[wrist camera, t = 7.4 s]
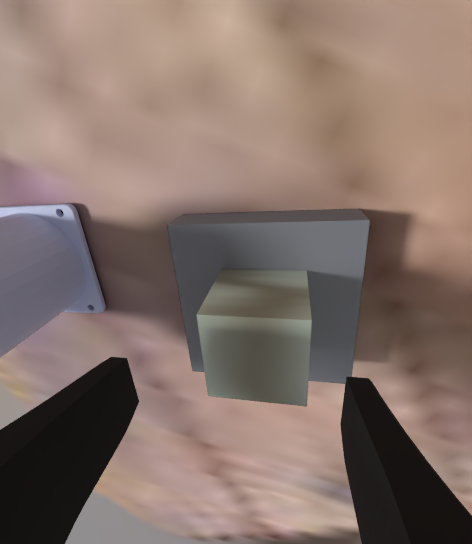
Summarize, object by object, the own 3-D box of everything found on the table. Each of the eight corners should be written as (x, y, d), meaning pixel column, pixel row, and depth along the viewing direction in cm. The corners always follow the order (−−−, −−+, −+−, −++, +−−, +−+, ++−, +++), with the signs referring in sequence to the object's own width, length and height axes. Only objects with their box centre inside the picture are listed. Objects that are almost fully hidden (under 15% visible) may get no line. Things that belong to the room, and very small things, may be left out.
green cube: (227, 336, 17) (208, 396, 13) (221, 269, 16) (196, 314, 12) (303, 341, 17) (306, 406, 13) (306, 270, 15) (311, 320, 11)
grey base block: (204, 342, 22) (192, 371, 19) (186, 212, 18) (166, 225, 15) (343, 351, 20) (350, 384, 17) (357, 206, 16) (369, 220, 13)
